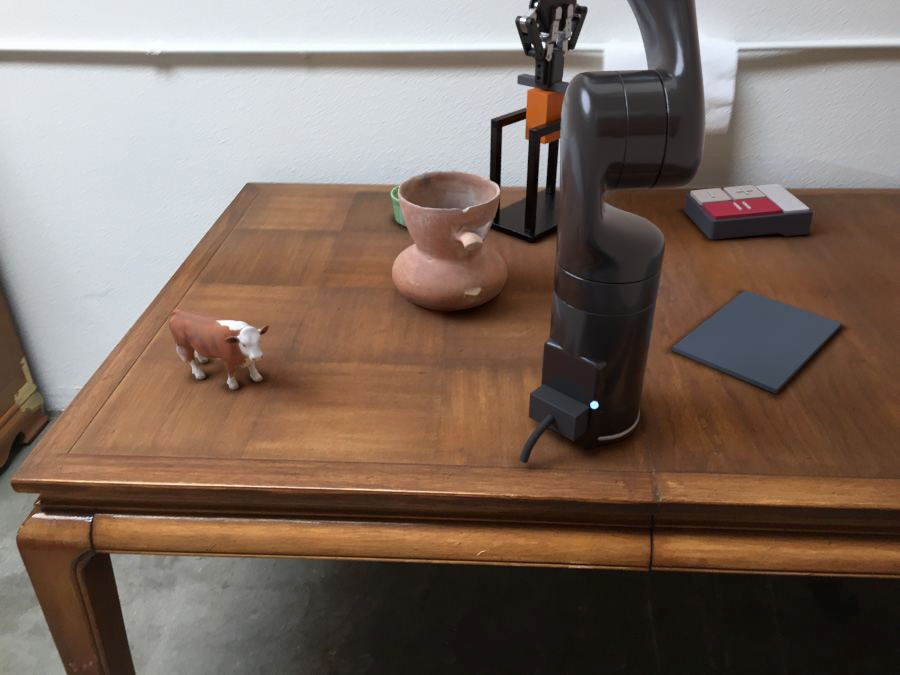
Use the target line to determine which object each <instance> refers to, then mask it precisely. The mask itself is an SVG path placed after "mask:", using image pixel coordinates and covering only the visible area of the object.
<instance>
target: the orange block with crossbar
mask: <svg viewBox="0 0 900 675" xmlns="http://www.w3.org/2000/svg"><path fill="white" fill-rule="evenodd" d="M543 48H544V50H545V47H543ZM563 53H564V51H563V50H557V49H553V53H552V59H551V60H550V61H552V72H551V86H550V88H547V89H543V88H538V87H536V85H535V74H534V75H533V74H528V73H522V74H519V75H517V78H516V79H517V80H516V81H517V82H516V83H517V85H521V86H525V87H531V88H530V89H527V90H526V107H527V109H526V119H525V131H524V140H527V141H529V129H531V128H533V127H536V126H539V125H542V124H545V123H547V122H550V121H553V120H556V119H558V118H561V113H562V105H563V100H564V96H565V92H566V89H567V87H568V85H569V83H570V81H563V78H562V68H563ZM563 69H564V68H563ZM561 80H562V81H561ZM557 139H559V140H560V130H559V131H556V132H554V133H551V134H548V135H546V136H543V137H541V142H540V144H542V145H546V144H549V143H550V142H552V141H555V140H557Z"/></svg>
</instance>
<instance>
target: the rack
mask: <svg viewBox="0 0 900 675" xmlns="http://www.w3.org/2000/svg"><path fill="white" fill-rule="evenodd" d="M526 109H527V106H526V107H523V108H520V109H517V110H514V111H511V112H508V113H505V114H503V115H499V116H496V117H493V118H491V119H490V138H489V139H490V143H489V144H490V145H489V148H490V149H489V180H491V181H492V182H494V183H496V184H497V185H498V186H499V188H500V191H502V190H501V189H502V188H501V186H502V185H501V184H502V157H503V156H502V155H503V154H502V151H503V128H504V127H507V126H510V125H513V124H516V123H519V122H521V121H526ZM560 128H561V118H558V119H556V120H553V121H550V122H547V123H545V124H542V125H539V126H536V127H533V128H531V129H529V140H528V144H527V145H528V146H527V168H526V183H525V184H526V186H525V187H526V188H525V198H522V199H520V200H518V201H515V202H513V203H510V204H509V205H507V206H504V207H502V208H501V199H500V200H499V204H498V208H497V212H496V215H495V217H494V220H493V222H492V225H491V227H490V230H491V229H492V230H494V231H497V232H499V233H501V234H504V235H506V236H510V237H513V238H516V239H519V240H520V241H524V242H526V243H529V244H533V243H536V242H538V241H540V240H542V239H543V238H545V237H547V236H549V235H551V234H553V233H555V232H557V223H558V205H559V190H557V189H556V188H557V178H558V177H557V176H558V165H559V164H558V163H559V161H558V160H559V150H560V139H557V140H555V141H552V142H550V143H548V146H547V147H548V148H547V161H546V162H547V163H546V178H545V188H544V189H542V190H540V191H539V175H540V174H539V173H540V157H541V143H540V142H541V137H543V136H546V135H548V134H551V133H554V132H556V131H559V130H560Z"/></svg>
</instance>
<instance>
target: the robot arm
mask: <svg viewBox="0 0 900 675" xmlns="http://www.w3.org/2000/svg"><path fill="white" fill-rule="evenodd" d="M626 1H627V3H628V4H629V7H630V9H631V11H632V13H633V15H634V18H635V21H636V23H637V26H638V29H639V33H640V35H641V39H642V45H643V48H644V54H645V59H646V67H647V69H625V70H623V69H619V70H592V71H584V72H583V71H582V72H579V73H577V74H575V75H574V76H573V77H572V78H571V79H570V81H569V85H568V87H567V89H566V92H565V96H564V100H563V105H562V113H561V128H560V139H559V187H558V188H559V190H558V191H559V205H558V223H557V231H556V245H555V259H554V273H553V287H552V298H551V311H550V324H549V338H548V339H547V340H546V341H545V342H544V344H543V355H542V366H541V384H540V385H539V387H537V388H536V389H534V390H533V391H531V392H530V393H529V400H528V404H529V405H528V418H529V419H531V420H533V421H535V422H537V423H539V424H538V425H537V426H536V427H535V429H534V430H533V431H532V433H531V434H530V435H529V437H528V438H527V440H526V442H525V444H524V446H523V448H522V451H521V454H520V456H519V459H518V460H519V461H520V462H521V463H524V464H528V462H529V459H530V457H531V454H532V451H533V449H534V447H535V445H536V444H537V442H538V441H539V439H540V438H541V437H542V435H543V434H544V433H545V432H546V431H547V430H548V429H550V430H551V431H553V432H555V433H557V434H558V435H560V436H562V437H564V438H566V439H568V440H570V441H572V442H574V443H576V444H578V445H579V446H581V447H583V448H585V449H587V450H592V449H594V448H595V447H596V446H599V445H608V444H614V443H617V442H620V441H623V440H625V439H627V438H628V437H630V436H631V435H632V434H634V432H635V431H636V430H637V428H638V426H639V422H640V416H641V410H640V409H641V402H642V396H643V389H644V383H645V377H646V370H647V364H648V358H649V350H650V346H651V338H652V332H653V326H654V320H655V313H656V306H657V302H658V294H659V288H660V284H661V275H662V271H663V263H664V256H665V250H666V240H665V236H664V233H663V232H662V231H661V229H660V228H659V227H658V226H657V225H656V224H655V223H653V222H652V221H650V220H648V219H647V218H645V217H643V216H640V215H638V214H635V213H632V212H629V211H626V210H624V209H621V208H617V207H615V206H613V205H611V204H609V203H607V202H605V201H604V193H605V192H606V191H625V190H626V191H627V190H628V191H629V190H656V189H658V190H659V189H674V188H675V189H676V188H680V187H684V186H686V185H688V184H689V183H690V182H692V181H693V179H694V178H695V177H696V174H697V173H698V171H699V169H700V166H701V162H702V159H703V157H704V156H703V155H704V150H705V140H706V123H707V122H706V100H705V88H704V87H705V86H704V77H703V76H704V75H703V74H704V73H703V67H702V66H703V65H702V55H701V46H700V37H699V28H698V26H699V25H698V17H697V16H698V15H697V6H696V4H697V3H696V0H626ZM588 10H589V8H588V7H587V6H585V5H580V4H579V3H578V0H530V1H529V3H528V10H527V11H526V13H525V14H524V15H517V16H516V18H515V19H514V21H515V22H514V23H515V28H516V30H517V33H518V37H519V39H520V42H521V43H520V44H521V46H522V49H523V52H524V55H525V57H529V58H533V59H534V62H535V64H534V76H535V85H536V87H538V88H543V89H547V88H550V86H551V72H552V61H550V60H551V59H552V53H553V49H557V50H563V51H564V53H563V68H562V80H561V81H563V78H564V68H565V67H564V66H565V58H566V57H567V56H568V54H569V53H568V52H569V51H574V50H575V49H576V46H577V43H578V40H579V38H580V37H579V36H580V35H581V31H582V28H583V26H584V23H585V20H586V17H587V14H588ZM543 43H544V45H543ZM544 46H545V47H544ZM544 48H545V50H544Z"/></svg>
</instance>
